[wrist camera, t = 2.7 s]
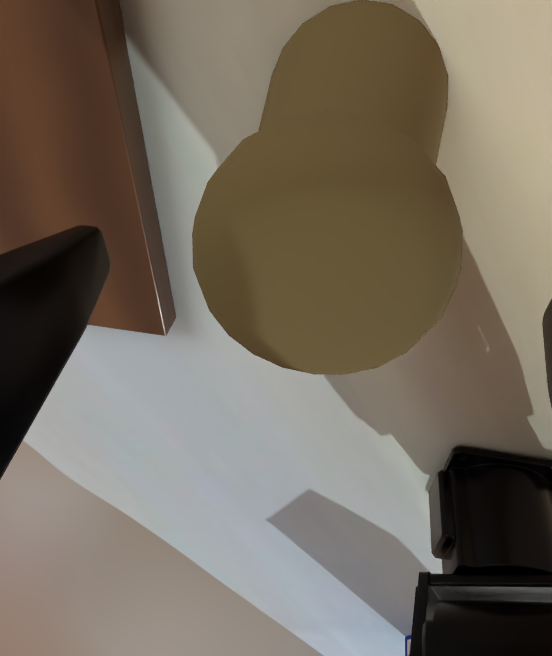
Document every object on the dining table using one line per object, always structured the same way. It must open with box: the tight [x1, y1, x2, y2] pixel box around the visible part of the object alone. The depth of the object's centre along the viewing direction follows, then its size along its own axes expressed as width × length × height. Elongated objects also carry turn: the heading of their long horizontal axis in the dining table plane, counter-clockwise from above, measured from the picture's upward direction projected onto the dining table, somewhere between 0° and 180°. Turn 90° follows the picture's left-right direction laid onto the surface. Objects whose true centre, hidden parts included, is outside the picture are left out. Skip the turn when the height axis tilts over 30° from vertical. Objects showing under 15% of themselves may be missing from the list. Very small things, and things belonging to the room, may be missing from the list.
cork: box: [192, 0, 463, 374], centre depth 12 cm, size 6×6×11 cm
